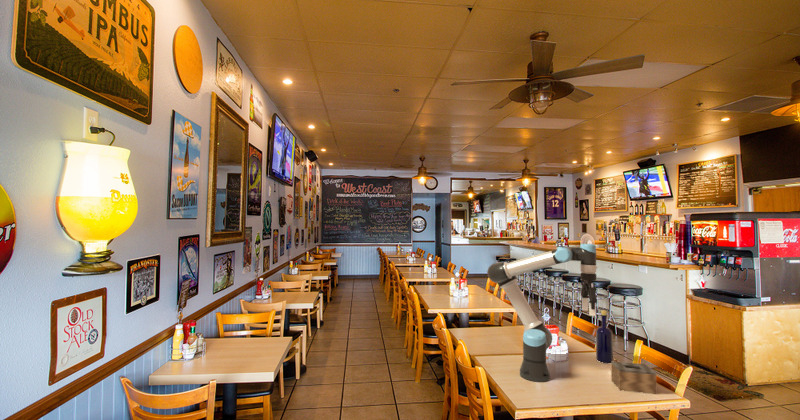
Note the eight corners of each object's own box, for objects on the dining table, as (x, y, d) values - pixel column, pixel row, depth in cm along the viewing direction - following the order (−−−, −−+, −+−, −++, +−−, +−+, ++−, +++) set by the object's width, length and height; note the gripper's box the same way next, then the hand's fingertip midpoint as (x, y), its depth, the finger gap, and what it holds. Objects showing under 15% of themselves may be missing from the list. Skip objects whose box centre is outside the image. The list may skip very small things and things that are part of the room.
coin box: (619, 390, 180) (619, 369, 180) (611, 380, 192) (611, 361, 192) (656, 394, 176) (656, 373, 177) (645, 384, 188) (645, 364, 189)
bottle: (613, 360, 223) (613, 310, 225) (612, 364, 215) (612, 313, 217) (596, 357, 228) (596, 308, 230) (595, 361, 220) (594, 311, 222)
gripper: (603, 275, 183) (604, 318, 182) (589, 270, 208) (589, 308, 206) (587, 275, 185) (587, 317, 184) (575, 270, 209) (575, 307, 208)
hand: (588, 312), depth 195 cm, fingers open, 13 cm apart
